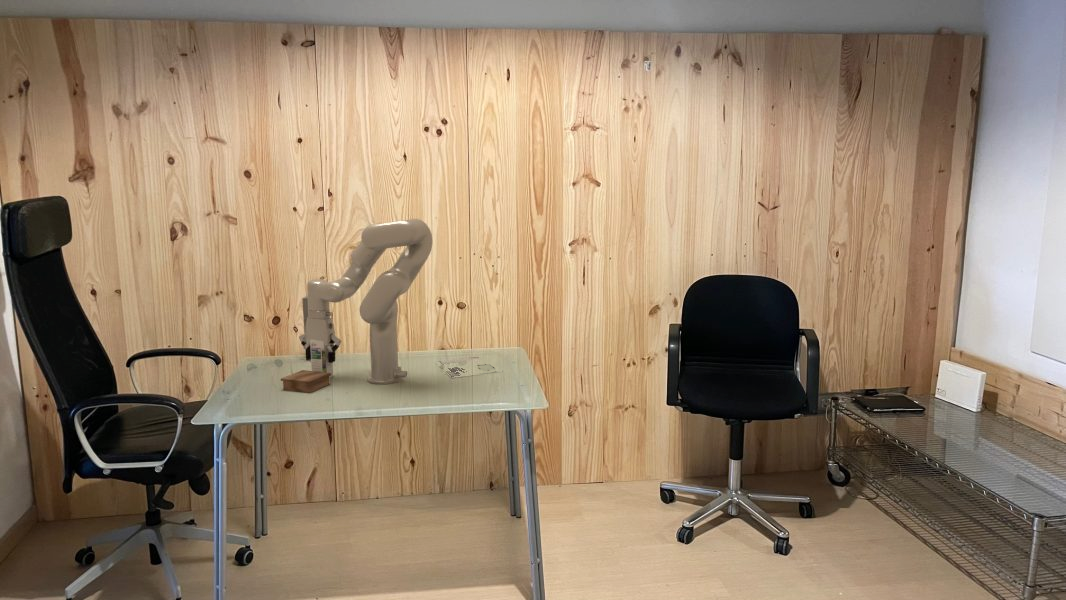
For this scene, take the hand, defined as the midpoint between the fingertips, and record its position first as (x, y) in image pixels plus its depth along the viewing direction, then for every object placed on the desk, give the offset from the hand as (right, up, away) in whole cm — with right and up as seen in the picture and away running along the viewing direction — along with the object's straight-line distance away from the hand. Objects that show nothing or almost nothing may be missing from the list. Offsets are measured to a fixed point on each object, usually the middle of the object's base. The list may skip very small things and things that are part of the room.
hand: (320, 360), depth 279 cm
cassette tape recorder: (-10, -1, +34) cm, 35 cm away
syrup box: (+1, -6, +1) cm, 7 cm away
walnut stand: (-2, -8, -11) cm, 14 cm away
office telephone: (+52, -5, +13) cm, 54 cm away
